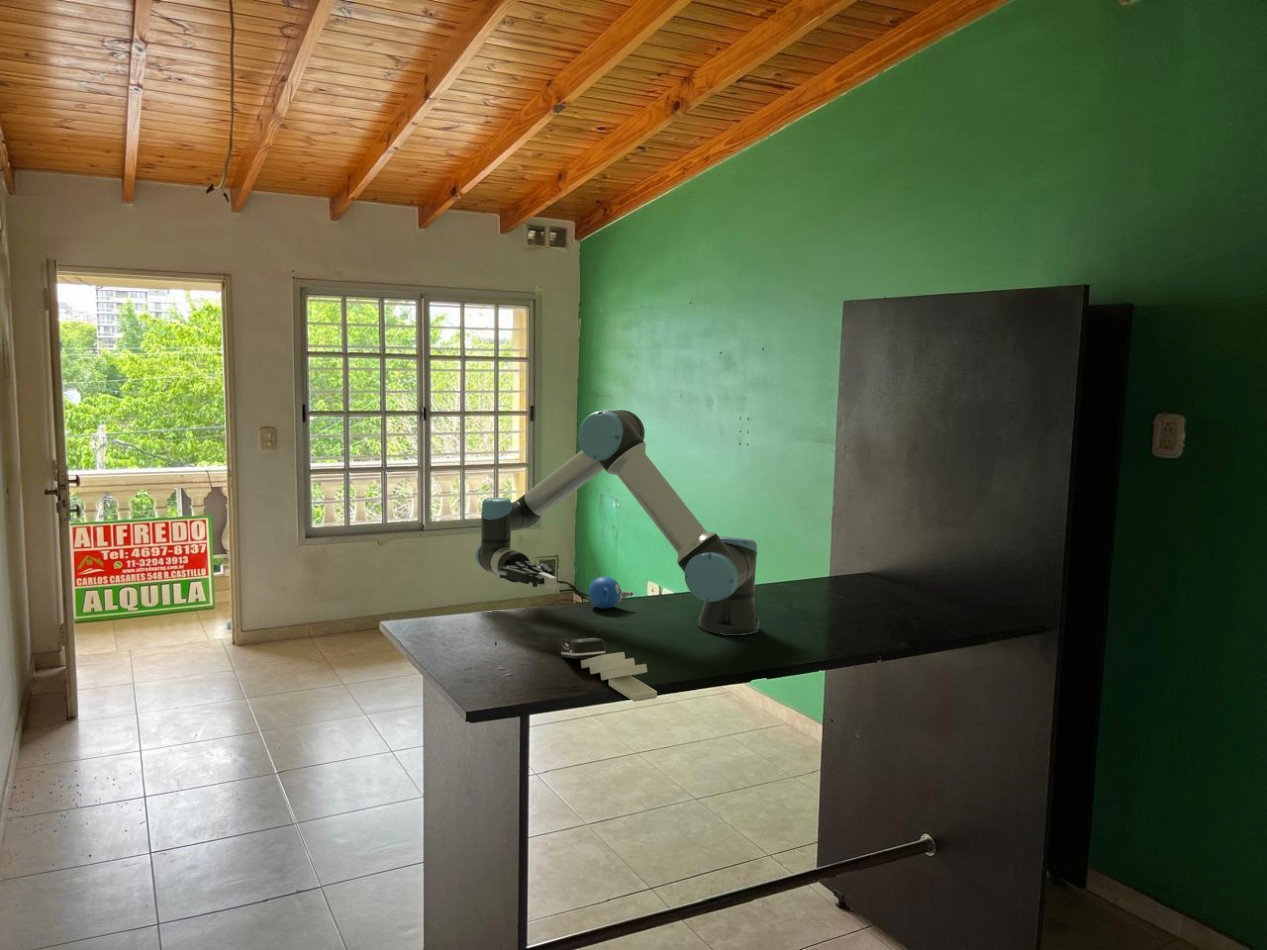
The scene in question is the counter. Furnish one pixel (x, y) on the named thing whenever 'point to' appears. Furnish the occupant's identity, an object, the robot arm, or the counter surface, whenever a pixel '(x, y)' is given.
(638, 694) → the tile
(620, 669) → the tile
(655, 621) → the counter surface
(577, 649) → the battery charger
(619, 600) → the blue mole toy
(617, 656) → the tile
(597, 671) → the tile
